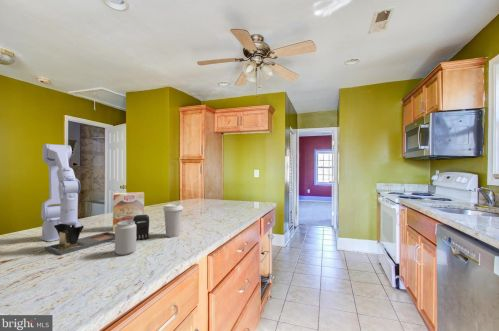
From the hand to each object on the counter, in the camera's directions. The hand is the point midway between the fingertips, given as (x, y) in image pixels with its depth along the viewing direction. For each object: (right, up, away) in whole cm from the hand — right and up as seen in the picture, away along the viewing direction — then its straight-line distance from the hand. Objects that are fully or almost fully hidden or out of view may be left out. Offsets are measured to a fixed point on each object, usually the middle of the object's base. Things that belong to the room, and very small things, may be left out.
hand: (68, 242), depth 95 cm
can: (+26, -3, -4) cm, 26 cm away
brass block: (0, -3, 0) cm, 2 cm away
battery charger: (+24, -3, +12) cm, 27 cm away
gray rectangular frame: (+3, -3, +6) cm, 7 cm away
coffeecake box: (+8, -3, +32) cm, 33 cm away
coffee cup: (+37, -3, +19) cm, 42 cm away
